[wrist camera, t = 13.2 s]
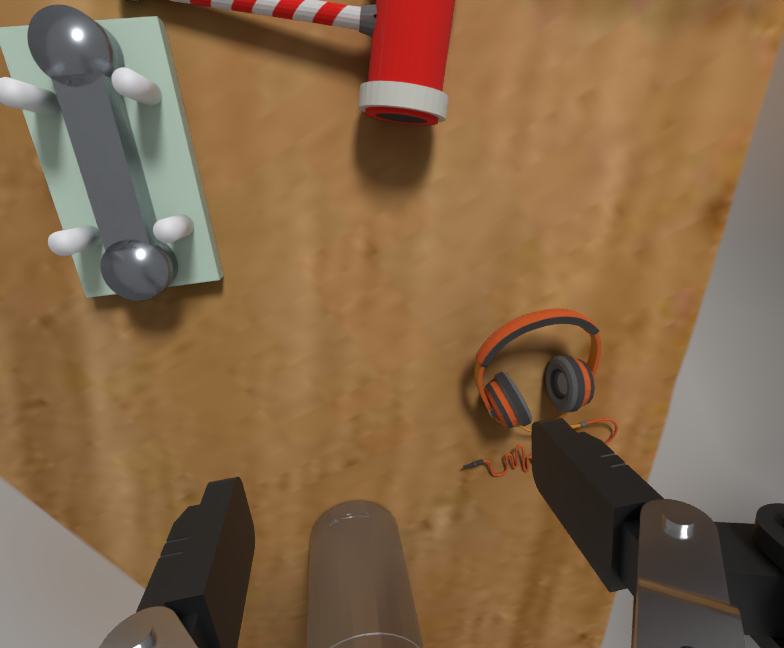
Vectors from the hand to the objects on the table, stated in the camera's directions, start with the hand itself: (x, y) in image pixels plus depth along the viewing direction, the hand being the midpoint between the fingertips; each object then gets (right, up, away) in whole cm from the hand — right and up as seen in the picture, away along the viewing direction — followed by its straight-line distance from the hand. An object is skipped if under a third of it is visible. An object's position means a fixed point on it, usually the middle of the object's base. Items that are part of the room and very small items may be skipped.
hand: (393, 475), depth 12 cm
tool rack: (-20, +16, +21) cm, 33 cm away
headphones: (+14, -2, +33) cm, 36 cm away
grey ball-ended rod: (-20, +15, +20) cm, 32 cm away
